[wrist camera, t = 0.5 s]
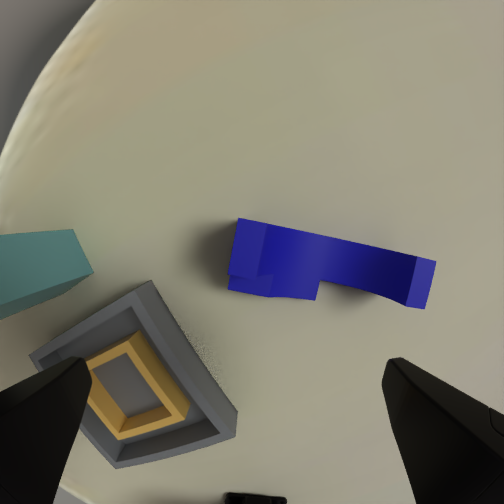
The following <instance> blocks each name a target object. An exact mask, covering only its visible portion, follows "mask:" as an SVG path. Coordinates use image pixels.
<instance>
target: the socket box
mask: <svg viewBox="0 0 504 504" xmlns="http://www.w3.org/2000/svg"><path fill="white" fill-rule="evenodd" d="M71 356H78V357H82V358H84V359H85V361H86V363H87V366H88V369H89V371H90V374H91V377H92V387H91V390H90V393H89V397H88V400H87V404H86V407H85V411H84V414H83V418H82V421H81V424H80V427H79V429H80V430H81V431H82V432H83V434H84V435H85V436H86V437H87V438H88V440H89V441H90V442H91V443H92V444H93V445H94V446H95V448H96V449H97V450H98V451H99V452H100V453H101V454H102V455H103V456H104V457H105V459H106V460H107V461H108V462H109V463H110V464H111V465H112V466H113V467H114V468H115V469H119V468H124V467H130V466H134V465H139V464H144V463H148V462H153V461H157V460H161V459H165V458H169V457H173V456H177V455H180V454H184V453H187V452H191V451H194V450H197V449H201V448H204V447H207V446H210V445H213V444H216V443H219V442H222V441H225V440H228V439H231V438H234V437H235V436H236V425H237V414H238V411H237V410H236V409H235V407H234V406H233V405H232V403H231V402H230V401H229V399H228V398H227V396H226V395H225V394H224V392H223V391H222V389H221V388H220V387H219V385H218V384H217V382H216V381H215V380H214V378H213V377H212V375H211V374H210V372H209V371H208V370H207V368H206V367H205V365H204V364H203V362H202V361H201V359H200V358H199V356H198V355H197V353H196V352H195V350H194V349H193V347H192V346H191V344H190V343H189V341H188V339H187V338H186V336H185V335H184V333H183V332H182V330H181V328H180V327H179V325H178V324H177V322H176V320H175V319H174V317H173V316H172V314H171V312H170V311H169V309H168V307H167V306H166V304H165V302H164V301H163V299H162V297H161V296H160V294H159V292H158V290H157V289H156V287H155V285H154V284H153V282H152V280H150V281H149V282H147V283H145V284H143V285H142V286H140V287H138V288H136V289H135V290H133V291H131V292H130V293H128V294H126V295H125V296H123V297H121V298H120V299H118V300H116V301H115V302H113V303H111V304H110V305H108V306H106V307H105V308H103V309H101V310H100V311H98V312H97V313H95V314H93V315H92V316H90V317H88V318H87V319H85V320H83V321H82V322H80V323H79V324H77V325H75V326H74V327H72V328H71V329H69V330H67V331H66V332H64V333H63V334H61V335H59V336H58V337H56V338H55V339H53V340H51V341H50V342H48V343H47V344H45V345H44V346H42V347H40V348H39V349H37V350H36V351H34V352H33V353H31V354H29V357H30V358H31V360H32V362H33V363H34V365H35V367H36V368H37V370H38V372H41V371H43V370H45V369H47V368H49V367H51V366H53V365H55V364H57V363H59V362H61V361H63V360H65V359H67V358H69V357H71Z"/></svg>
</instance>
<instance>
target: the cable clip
mask: <svg viewBox="0 0 504 504" xmlns="http://www.w3.org/2000/svg"><path fill="white" fill-rule="evenodd" d="M435 266H436V261H433V260H429V259H425V258H421V257H417V256H413V255H408V254H404V253H400V252H395V251H391V250H386V249H382V248H378V247H373V246H369V245H364V244H360V243H355V242H351V241H346V240H342V239H337V238H332V237H328V236H323V235H318V234H314V233H309V232H304V231H300V230H295V229H290V228H285V227H281V226H276V225H271V224H267V223H262V222H257V221H252V220H247V219H242V218H238V223H237V228H236V233H235V238H234V243H233V248H232V254H231V259H230V264H229V270H228V275H230V279H229V285H228V290H233V291H238V292H243V293H248V294H253V295H259V296H264V297H290V298H300V299H308V300H314V301H315V299H316V295H317V291H318V287H319V282H320V280H324V281H329V282H333V283H338V284H342V285H346V286H350V287H354V288H358V289H361V290H365V291H368V292H371V293H374V294H377V295H380V296H383V297H386V298H388V299H391V300H393V301H396V302H398V303H400V304H402V305H404V306H407V307H413V308H419V309H425V306H426V302H427V299H428V295H429V291H430V287H431V283H432V279H433V275H434V270H435Z"/></svg>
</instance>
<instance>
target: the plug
mask: <svg viewBox="0 0 504 504" xmlns="http://www.w3.org/2000/svg"><path fill="white" fill-rule="evenodd" d="M92 273H94V272H93V270H92V268H91V266H90V264H89V262H88V260H87V258H86V256H85V254H84V252H83V250H82V248H81V246H80V244H79V242H78V240H77V237H76V235H75V233H74V231H73V229H72V230H57V231H43V232H30V233H18V234H6V235H0V320H1V319H3V318H6V317H8V316H10V315H13V314H15V313H18V312H20V311H22V310H25V309H27V308H30V307H32V306H34V305H37V304H39V303H42V302H44V301H47V300H49V299H51V298H54V297H56V296H59V295H61V294H64V293H65V292H66V291H68V290H69V289H71V288H72V287H73V286H75V285H76V284H78V283H79V282H81V281H82V280H83V279H85V278H86V277H88V276H89V275H91V274H92Z"/></svg>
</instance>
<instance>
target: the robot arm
mask: <svg viewBox="0 0 504 504" xmlns="http://www.w3.org/2000/svg"><path fill="white" fill-rule="evenodd" d="M91 387H92V377H91V374H90V371H89V369H88V366H87V363H86V361H85V359H84V358H82V357H78V356H71V357H69V358H67V359H65V360H63V361H61V362H59V363H57V364H55V365H53V366H51V367H49V368H47V369H45V370H43V371H41V372H39V373H37V374H35V375H33V376H31V377H29V378H27V379H25V380H23V381H21V382H19V383H17V384H15V385H13V386H11V387H9V388H7V389H5V390H3V391H1V392H0V504H53V501H54V498H55V495H56V492H57V489H58V486H59V482H60V479H61V476H62V473H63V471H64V468H65V465H66V462H67V459H68V456H69V454H70V451H71V448H72V445H73V443H74V440H75V437H76V435H77V432H78V430H79V427H80V424H81V421H82V418H83V414H84V411H85V407H86V404H87V400H88V397H89V393H90V390H91ZM382 390H383V394H384V398H385V402H386V406H387V410H388V414H389V419H390V423H391V427H392V430H393V433H394V436H395V439H396V442H397V445H398V448H399V451H400V454H401V457H402V460H403V463H404V466H405V469H406V472H407V475H408V478H409V481H410V484H411V487H412V491H413V494H414V497H415V501H416V504H504V415H503V414H501V413H499V412H498V411H496V410H494V409H492V408H489V407H488V406H487V405H485V404H483V403H481V402H479V401H478V400H476V399H474V398H472V397H471V396H469V395H467V394H465V393H463V392H462V391H460V390H458V389H456V388H455V387H453V386H451V385H449V384H447V383H446V382H444V381H442V380H440V379H439V378H437V377H435V376H433V375H432V374H430V373H428V372H426V371H425V370H423V369H421V368H419V367H418V366H416V365H414V364H412V363H411V362H409V361H407V360H405V359H404V358H401V357H399V358H392V359H389V360H388V362H387V364H386V368H385V371H384V375H383V378H382ZM286 503H287V499H286V498H280V497H264V496H252V495H243V494H234V493H228V494H227V495H226V499H225V503H224V504H286Z"/></svg>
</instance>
